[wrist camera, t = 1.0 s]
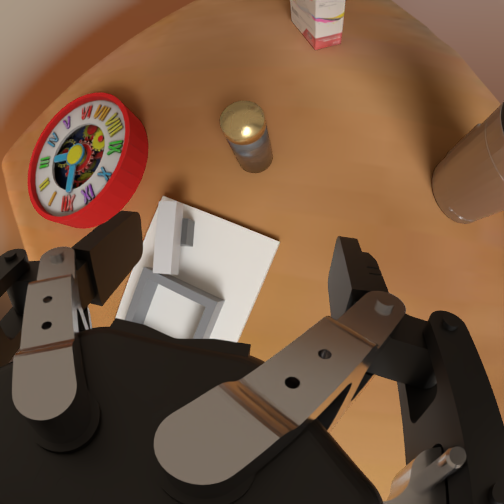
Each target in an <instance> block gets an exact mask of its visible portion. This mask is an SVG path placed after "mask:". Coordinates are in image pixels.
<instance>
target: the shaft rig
mask: <svg viewBox="0 0 504 504" xmlns="http://www.w3.org/2000/svg"><path fill="white" fill-rule="evenodd" d="M279 244H280V242H279V241H276V240H274V239H271V238H269V237H267V236H264V235H262V234H259V233H257V232H254V231H252V230H249V229H247V228H244V227H242V226H239V225H237V224H234V223H232V222H229V221H227V220H224V219H221V218H219V217H216V216H214V215H211V214H209V213H206V212H204V211H201V210H199V209H196V208H193V207H191V206H188V205H186V204H183V203H181V202H178V201H175V200H173V199H170V198H168V197H165V196H163V197H162V199H161V201H159V205H158V208H157V210H156V213H155V215H154V217H153V220H152V222H151V224H150V227H149V229H148V232H147V234H146V237H145V239H144V241H143V254H142V257H141V259H140V261H139V262H138V263H137V264H136V266H135V267H134V268H133V270H132V272H131V275H130V278H129V280H128V283H127V286H126V289H125V292H124V294H123V297H122V300H121V303H120V306H119V309H118V312H117V315H116V318H118V319H123V320H127V321H131V322H135V323H139V324H144V325H147V326H149V327H151V328H153V329H155V330H157V331H160V332H162V333H164V334H166V335H169V336H171V337H173V338H178V339H220V340H226V341H232V342H238V341H239V338H240V336H241V334H242V331H243V329H244V327H245V324H246V322H247V320H248V318H249V315H250V313H251V311H252V308H253V306H254V304H255V301H256V299H257V297H258V294H259V292H260V290H261V287H262V285H263V282H264V280H265V278H266V275H267V273H268V271H269V268H270V266H271V263H272V261H273V259H274V256H275V254H276V251H277V249H278V247H279ZM116 318H115V319H116Z"/></svg>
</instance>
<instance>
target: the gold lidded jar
mask: <svg viewBox="0 0 504 504" xmlns="http://www.w3.org/2000/svg"><path fill="white" fill-rule="evenodd" d="M220 126H221V129H222V131H223V133H224V135H225V136H226V138H227V140H228V142H229V144H230V146H231V148H232V150H233V152H234V154H235V156H236V158H237V160H238V162H239V164H240V166H241V167H242V168H243V169H244V170H245V171H247V172H250V173H259V172H262V171H264V170H266V169H267V168H268V167H269V166H270V164H271V162H272V159H273V154H272V149H271V145H270V140H269V135H268V131H267V126H266V122H265V117H264V113H263V111H262V109H261V108H260V107H259V106H258V105H257V104H255V103H253V102H250V101H238V102H235V103H233V104H231V105H229V106H228V107H227V108H226V109H225V110H224V111H223V112H222V114H221V117H220Z"/></svg>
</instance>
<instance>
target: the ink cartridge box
mask: <svg viewBox="0 0 504 504" xmlns="http://www.w3.org/2000/svg"><path fill="white" fill-rule="evenodd" d="M345 1H346V0H290V5H291V19H292V22H293V23H294V24H295V26H296V27H297V28H298V29H299V30H300V32H301V33H302V34H303V35H304V37H305V38H306V39H307V40H308V42H309V43H310V44H311V45H312V47H313V48H314V49H315V50H317V49H321V48H325V47H329V46H333V45H337V44H341V37H342V29H343V20H344V10H345Z"/></svg>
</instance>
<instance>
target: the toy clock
mask: <svg viewBox="0 0 504 504" xmlns="http://www.w3.org/2000/svg"><path fill="white" fill-rule="evenodd" d="M147 158H148V139H147V134H146V131H145V128H144V126H143V125H142V123H141V121H140V120H139V119H138V118H137V117H136V116H135V115H134V114H133V113H132V112H131V111H130V110H129V109H128V108H127V107H126V106H125V105H124V104H123V103H122V102H121V101H120V100H119V99H118V98H116V97H115V96H113V95H111V94H107V93H91V94H87V95H84V96H82V97H79V98H77V99H75V100H74V101H72V102H70V103H69V104H67V105H66V106H65V107H64V108H62V109H61V110H60V111H59V112H58V113H57V114H56V115H55V116H54V117H53V118H52V120H51V121H50V122H49V123H48V124H47V126H46V127H45V129H44V130H43V132H42V133H41V135H40V137H39V139H38V141H37V143H36V145H35V148H34V150H33V153H32V156H31V160H30V164H29V170H28V192H29V196H30V200H31V202H32V204H33V206H34V208H35V210H36V211H37V212H38V213H39V214H40V215H41V216H42V217H44V218H45V219H48V220H50V221H53V222H57V223H61V224H64V225H68V226H71V227H75V228H84V229H85V228H91V227H95V226H98V225H100V224H103V223H104V222H106V221H108V220H109V219H111V218H112V217H113V216H115V215H116V214H117V213H118V212H119V211H120V210H121V209H122V208H123V207H124V206H125V205H126V204H127V203H128V201H129V200H130V198H131V197H132V195H133V194H134V193H135V191H136V189H137V187H138V185H139V183H140V181H141V179H142V176H143V173H144V171H145V167H146V163H147Z"/></svg>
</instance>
